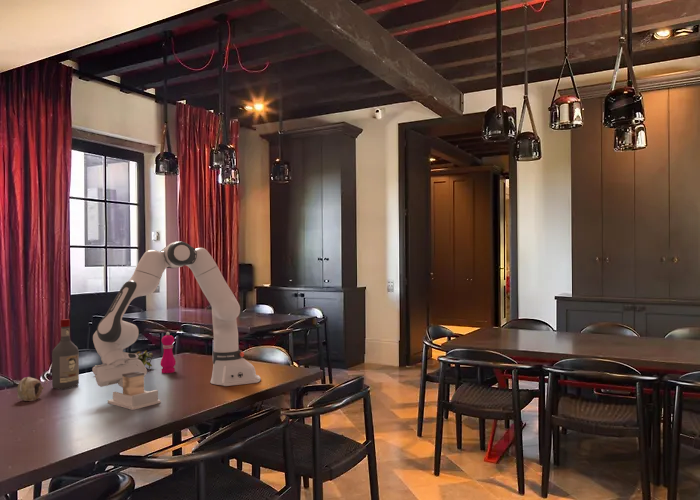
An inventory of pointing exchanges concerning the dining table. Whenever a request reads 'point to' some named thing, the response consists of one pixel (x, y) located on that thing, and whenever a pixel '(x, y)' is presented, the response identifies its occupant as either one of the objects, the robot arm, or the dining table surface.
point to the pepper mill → (168, 354)
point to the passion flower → (145, 357)
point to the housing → (135, 399)
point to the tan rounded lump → (29, 389)
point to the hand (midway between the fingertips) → (129, 389)
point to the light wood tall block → (133, 383)
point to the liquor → (65, 360)
